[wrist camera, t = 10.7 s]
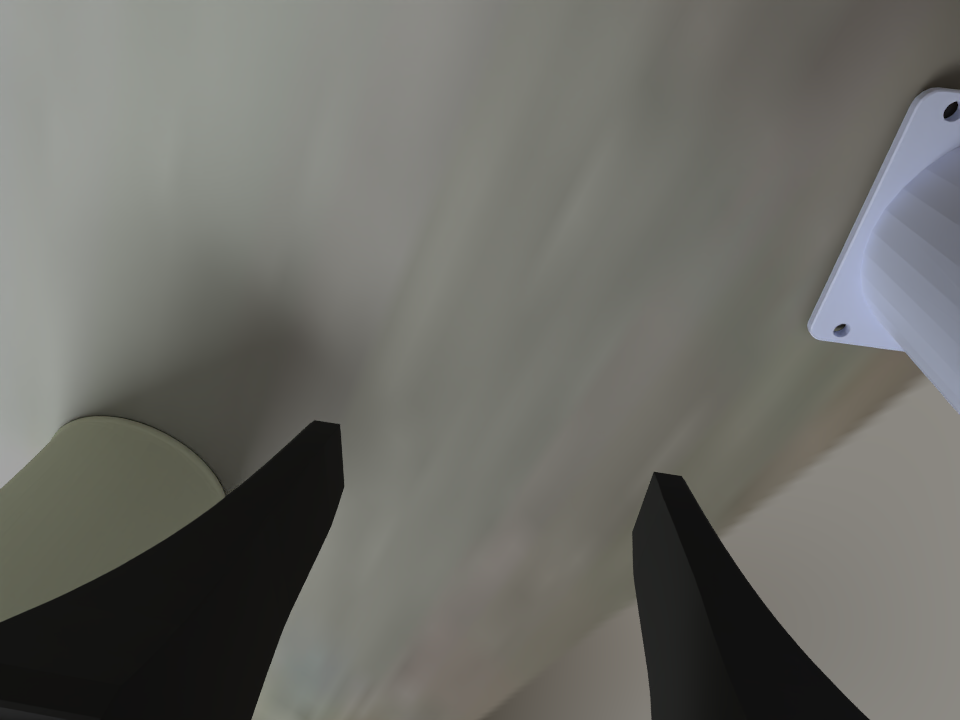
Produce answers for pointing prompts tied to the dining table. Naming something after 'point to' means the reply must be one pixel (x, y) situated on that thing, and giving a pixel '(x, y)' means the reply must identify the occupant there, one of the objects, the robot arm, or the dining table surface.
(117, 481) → the can
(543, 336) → the dining table surface
